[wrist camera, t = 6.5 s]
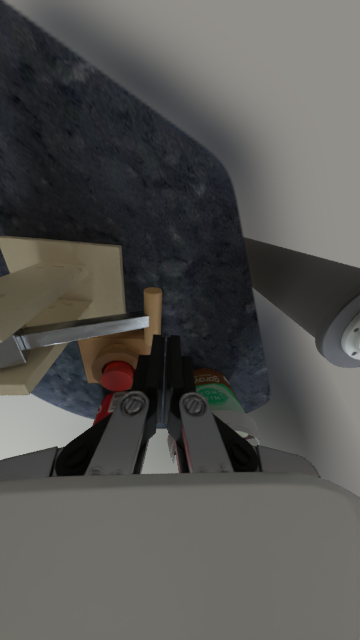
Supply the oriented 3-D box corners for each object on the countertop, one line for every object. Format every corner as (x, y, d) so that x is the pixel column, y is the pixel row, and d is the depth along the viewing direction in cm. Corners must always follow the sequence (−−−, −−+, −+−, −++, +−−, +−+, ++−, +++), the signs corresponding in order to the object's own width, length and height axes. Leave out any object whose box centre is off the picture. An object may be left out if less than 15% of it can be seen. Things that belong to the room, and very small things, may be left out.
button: (133, 360, 22) (131, 371, 20) (134, 380, 24) (132, 391, 22) (103, 360, 22) (98, 370, 20) (106, 380, 23) (102, 391, 22)
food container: (233, 355, 28) (264, 417, 19) (236, 380, 31) (264, 444, 22) (157, 372, 28) (154, 441, 20) (168, 396, 31) (169, 464, 23)
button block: (160, 330, 24) (160, 349, 21) (158, 372, 28) (158, 393, 25) (83, 327, 23) (69, 347, 20) (93, 371, 27) (82, 394, 24)
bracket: (121, 245, 19) (58, 288, 8) (126, 319, 23) (91, 414, 12) (5, 235, 17) (-272, 269, 6) (34, 315, 22) (-98, 417, 11)
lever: (156, 284, 15) (167, 295, 13) (155, 332, 18) (164, 347, 16) (-52, 300, 10) (-79, 321, 8) (-11, 366, 12) (-25, 393, 10)
